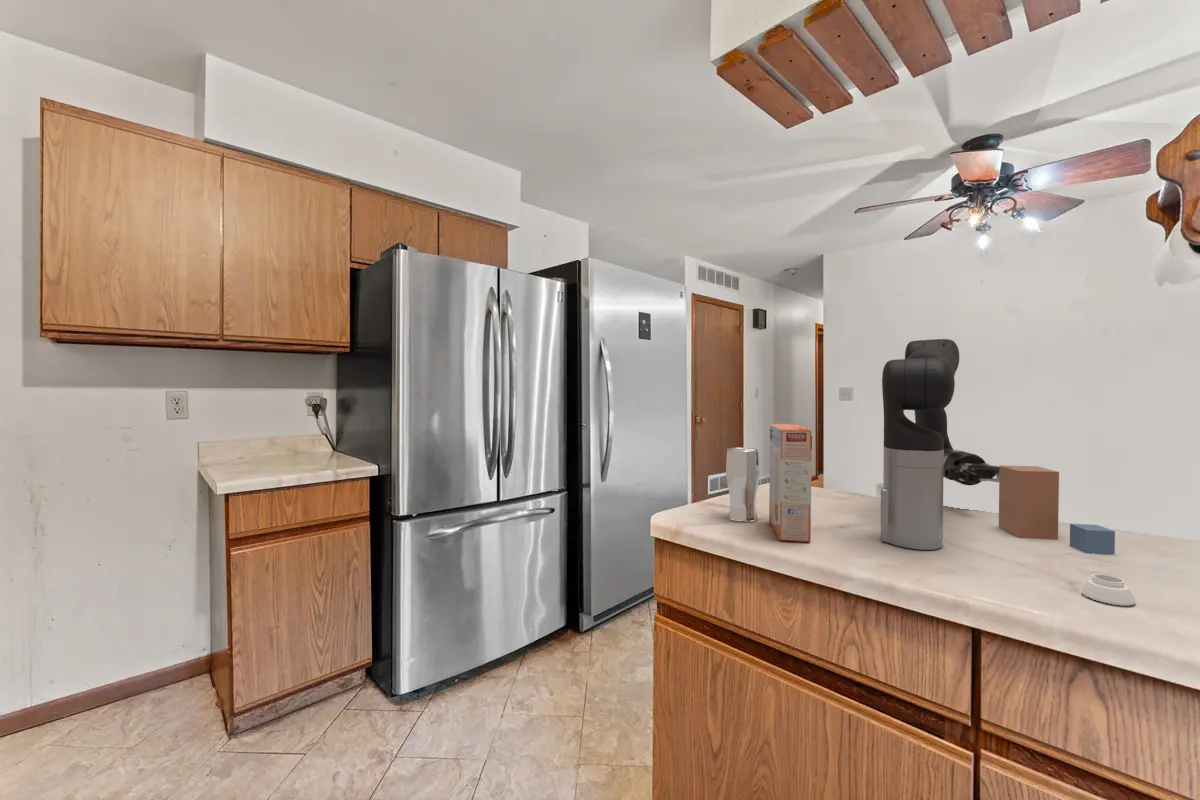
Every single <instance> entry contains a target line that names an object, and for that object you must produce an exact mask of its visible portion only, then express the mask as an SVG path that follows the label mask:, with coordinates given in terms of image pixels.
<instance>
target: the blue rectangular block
mask: <svg viewBox="0 0 1200 800" xmlns="http://www.w3.org/2000/svg"><path fill="white" fill-rule="evenodd" d="M1115 545H1116V531H1115V530H1113V529H1109V528H1107V527H1105V526H1101V525H1098V524H1089V523H1087V524H1085V523H1083V524H1081V523H1069V547H1072V548H1074V549H1076V550H1078V551H1080V552H1082V551H1083V553H1085V554H1092V553H1095V555H1111V554H1115V553H1116V551H1115V550H1116V549H1115V548H1116V546H1115ZM1115 555H1116V554H1115Z"/></svg>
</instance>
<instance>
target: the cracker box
mask: <svg viewBox="0 0 1200 800" xmlns="http://www.w3.org/2000/svg"><path fill="white" fill-rule="evenodd" d="M812 449H813V430H812V429H810V428H808V427H805V426H802V425H799V424H798V423H797V424H796V423H771V424H769V500H768V501H769V506H768V507H769V508H768V510H769V511H768V513H769V514H768V521H770V522H769V523H770V526H771V527H772V530H773V531H774V534H776V537H777V539H778V540H779V541H781V542H782V541H783V542H794V541H796V542H798V543H811V535H812V534H811V530H812V529H811V528H812V526H811V525H812V521H811V520H812V463H813V462H812V460H813V459H812V456H813V455H812V454H813V450H812Z"/></svg>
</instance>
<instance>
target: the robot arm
mask: <svg viewBox="0 0 1200 800" xmlns="http://www.w3.org/2000/svg"><path fill="white" fill-rule="evenodd" d="M959 363H960V351H959V346H958V345H957V343H956V342H955V341H954V340H952V339H949V338H948V339H947V338H938V339H937V338H936V339H920V340H919V339H917V340H912V341H909V342H908V343H907V345H906V348H905V351H904V358H900V359H891V360H888V361H887V362H886V363H885V364H884V366H883V370H882V377H881V383H882V384H881V386H882V387H881V391H882V405H883V408H882V409H883V473H882V474H883V475H882V476H883V479H882V480H883V483H882V484H883V485H882V486H883V487H882V488H881V491H880V542H884V543H888V544H892V545H894V546H896V547H897V546H898V547H902V548H906V549H913V550H923V551H929V550H930V551H931V550H939V549H941V548H943V547H944V542H943V541H944V540H943V539H944V478H945V479H948V480H950V481H955V482H956V483H958V484H961V485H964V486H976V485H978V484H981V483H982V482H995V483H999V466H1000V465H991V464H989V463H987V461H985V460H984V459H983V458H982V457H981V456H980V455H977V454H975V453H971V452H969V451H968V452H967V451H964V450H960V449H954V448H953V446H952V444H951V441H950V439H949V435H948V414H947V411H946V410H945V408H947V407H948V406H949V405H950V403H951V401H952V399H953V397H954V393H955V385H956V383H955V375H956V372H957V370H958V368H959ZM906 410H907V411H914V418H915V419H914V421H915V422H913V421H912V420H911V419H909V418H908V417H907V416H906V415H905V412H904V411H906ZM994 477H996V478H994Z"/></svg>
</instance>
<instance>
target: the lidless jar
mask: <svg viewBox="0 0 1200 800" xmlns="http://www.w3.org/2000/svg"><path fill="white" fill-rule="evenodd" d="M1081 594H1082V595H1084V596H1085V597H1087V598H1088V597H1089V599H1090V598H1091V600H1093V601H1095V600H1096V602H1098V601H1100V602H1099V603H1102V602H1103V604H1106V603H1108V604H1107V605H1110V604H1112V606H1118V605H1119V606H1120V607H1122V606H1123V607H1126V606H1132V605H1135V604H1136V599H1135V597H1134V595H1133V593H1132V592H1131V589H1130V588H1129V587H1128V586H1127V585H1125V580H1124V579H1122V578H1120V577H1117V576H1113V575H1109V574H1104V573H1103V574H1101V573H1100V574H1099V573H1095V574H1092V575H1091V576H1090V579H1088V580H1087V581H1086V582H1085V583H1084V585H1083V586H1082V587H1081ZM1119 606H1118V607H1119Z"/></svg>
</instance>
